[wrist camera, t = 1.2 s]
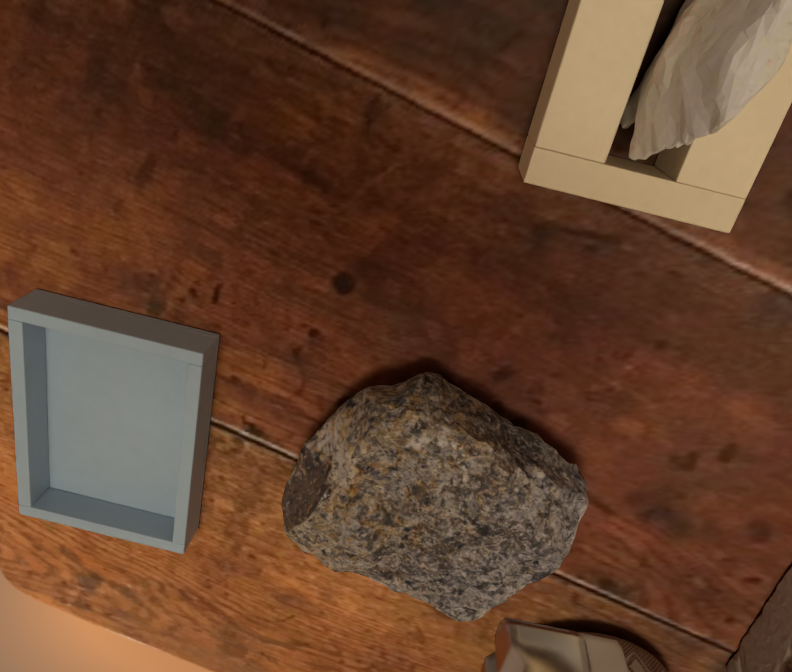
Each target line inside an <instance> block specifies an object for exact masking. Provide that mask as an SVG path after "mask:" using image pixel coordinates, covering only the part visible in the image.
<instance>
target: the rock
mask: <svg viewBox="0 0 792 672" xmlns="http://www.w3.org/2000/svg"><path fill="white" fill-rule="evenodd" d="M586 493H587V485H586V482H585V480H584V478H583V476H582V475H581V473H580V471H579V469H578V466H577V465H576V464H570V463H568V462H566V461H565V460H564V459H563V458H562V457H561V456H560V455H559V454H558V452H557V450H555V449H554V448H553V447H551V446H550V445H548V444H546V443H545V442H544V441H543V439H542V438H541V437H540V436H539V434H536V433H534V432H531V431H529V430H526V429H523V428H521V427H517V426H514V425H513V424H512V423H511V422H510V421H509V420H508V419H506V418H503V417H501V416H499V415H498V414H497V413H496V412H495V411H494V410H493V409H492V408H490V407H489V406H487V405H486V404H484V403H482V402H481V401H479V400H477V399H475V398H474V397H472V396H470V395H468V394H466V393H465V392H464V391H462V390H461V389H460V388H458V387H456V386H454V385H452V384H450V383H448V382H447V381H446V380H445V379H444V378H443V377H442V376H441V375H439V374H437V373H429V372H426V373H423V374H418V375H416V376H414V377H413V378H411V379H409V380H407V381H405V382H402V383H398V384H396V385H393V386H389V385H378V386H371V387H367V388H365V389H363V390H361V391H360V392H358V393H356V395H355V396H354V397H353V398H350V399H348V400H347V401H346V402H345V403H344V404H343V405H342V406H340V407H339V409H338V410H337V411H336V412H335V413H334V414H333V415H331V416H330V417H329V418H328V419H327V421H326V422H325V423H324V424H323V425H322V427H321V428H320V429H319V430H318V431H317V432H316V434H315V435H314V436H313V437H312V438H311V439H310V440H309V441H308V442H306V443H304V445H303V448H302V450H301V452H300V455H299V459H298V461H297V464H296V466H295V468H294V471H293V473H292V475H291V477H290V479H289V480H288V482H287V483H286V486H285V490H284V494H283V498H282V503H281V505H282V510H283V517H284V530H285V533H286V535H287V536H288V537H289V538H290V539H291V540H292V541H293V542H294V543H296V544H297V545H298V547H299V548H300V549H301V550H302V551H303V552H304V553H307V552H309V553H311V554H313V555H315V556H316V557H317V558H318V559H319V560H320V561H321V563H322V564H323V565H324V566H326V567H328V568H330V569H331V570H333V571H335V572H353V573H357V574H360V575H363V576H367V577H369V578H371V579H373V580H374V581H376V582H378V583H380V584H383V585H385V586H386V587H388V588H389V589H390V590H392V591H395V592H398V593H407V594H408V595H409V596H411V597H414V598H416V599H419V600H422V601H424V602H427V603H429V604H431V605H432V606H433V607H434V608H436V609H437V610H439V611H441V612H442V613H444V614H446V615H447V616H449V617H451V618H452V619H455V620H458V621H474V620H477V619H479V618H482V617H483V616H484V614H485V613H486V612H487V611H489V610H490V609H491V608H492V607H495V606H497V605H499V604H502V603H504V602H506V600H507V599H508V598H509V597H510V596H513V595H514V594H515V593H517V592H518V591H519V590H521V589H522V588H523V587H524V586H526V585H527V584H528V583H533V582H537V581H539V580H541V579H543V578H545V577H546V576H548V575H550V574H551V573H553V572H554V571H555V570H557V569H558V568H559V567H560V565H561V564H562V562H563V559H564V558H565V557H566V556H567V555H568V553H569V551H570V548H571V545H572V543H573V541H574V538H575V534H576V530H577V527H578V524H579V521H580V520H581V518H582V516H583V514H584V513H585V511H586V509H587V506H588V503H589V501H588V499H587V496H586Z"/></svg>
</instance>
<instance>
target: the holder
mask: <svg viewBox="0 0 792 672" xmlns="http://www.w3.org/2000/svg"><path fill="white" fill-rule="evenodd" d="M664 1H665V0H569V2H568V5H567V8H566V11H565V15H564V18H563V21H562V25H561V28H560V31H559V34H558V38H557V41H556V44H555V47H554V51H553V54H552V57H551V60H550V64H549V67H548V70H547V74H546V77H545V80H544V83H543V87H542V90H541V93H540V96H539V100H538V103H537V106H536V109H535V113H534V116H533V119H532V123H531V126H530V129H529V132H528V136H527V138H526V142H525V145H524V148H523V152H522V155H521V158H520V161H519V165H518V168H519V170H520V173H521V176H522V178H523V181H524V182H525V183H529V184H533V185H537V186H541V187H545V188H549V189H553V190H557V191H561V192H565V193H569V194H573V195H577V196H581V197H585V198H589V199H593V200H597V201H601V202H605V203H609V204H613V205H617V206H621V207H625V208H629V209H633V210H637V211H641V212H645V213H649V214H653V215H657V216H661V217H665V218H669V219H673V220H677V221H681V222H685V223H689V224H693V225H697V226H701V227H705V228H709V229H713V230H717V231H721V232H725V233H730V231H731V229H732V227H733V225H734V223H735V221H736V218H737V216H738V214H739V212H740V210H741V208H742V206H743V204H744V202H745V199H746V197H747V195H748V193H749V191H750V189H751V187H752V184H753V182H754V180H755V178H756V176H757V174H758V172H759V170H760V168H761V166H762V163H763V161H764V159H765V157H766V155H767V153H768V151H769V149H770V147H771V145H772V142H773V140H774V138H775V136H776V134H777V132H778V130H779V128H780V126H781V124H782V121H783V119H784V117H785V115H786V113H787V111H788V109H789V107H790V105H791V103H792V43H791V45H790V48H789V51H788V53H787V56H786V59H785V61H784V63H783V64H782V66H781V68H780V69H779V71H778V72H777V73H776V75H775V76H774V77H773V78H772V79H771V80H770V81H769V82H768V84H767V85H766V86H765V87H764V88H763V89H762V90H761V91H760V92H758V93H757V94H756V95H755V96H754V97H753V98H752V99H751V100H750V101H749V102H748V103H747V104H746V106H745V107H744V108H743V109H742V110H741V111H740V112H739V114H738V115H737V116H736V117H734V118H733V119H732V120H731V121H730V122H729V123H727V124H726V125H725V126H724V127H722V128H721V129H720V130H719V131H717V132H716V133H714V134H709V135H707V136H704V137H700V138H696V139H695V140H694V141H693V142H692V143H691V144H689V145H688V146H687V145H685V144H683V145H682V146H680V147H679V148H677V147H674V148H671V149H664V150H662V151H660V152H659V155H658V157H657V160H656V162H655V165H654V166H655V167H654V166H650V165H646V164H642V163H638V162H634V161H630V160H626V159H622V158H618V157H614V156H610V155H608V154H609V151H610V148H611V145H612V143H613V140H614V137H615V134H616V132H617V129H618V126H619V124H620V121H621V118H622V115H623V113H624V110H625V107H626V104H627V102H628V99H629V96H630V94H631V91H632V88H633V85H634V83H635V80H636V77H637V74H638V72H639V69H640V66H641V63H642V61H643V58H644V55H645V53H646V50H647V47H648V44H649V42H650V39H651V36H652V33H653V31H654V28H655V25H656V22H657V20H658V17H659V14H660V12H661V9H662V6H663V3H664Z"/></svg>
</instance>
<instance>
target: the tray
mask: <svg viewBox="0 0 792 672" xmlns="http://www.w3.org/2000/svg"><path fill="white" fill-rule="evenodd" d="M8 318H9V319H8V329H9V346H10V363H11V381H12V398H13V416H14V433H15V451H16V468H17V486H18V503H19V513H20V514H23V515H27V516H31V517H35V518H39V519H43V520H47V521H51V522H55V523H59V524H63V525H67V526H71V527H75V528H79V529H83V530H88V531H92V532H96V533H100V534H104V535H108V536H112V537H116V538H120V539H124V540H128V541H132V542H136V543H140V544H144V545H148V546H152V547H156V548H160V549H164V550H169V551H173V552H177V553H181V554H184V552H185V551H186V549H187V547H188V545H189V543H190V541H191V540H192V538H193V536H194V534H195V532H196V531H197V529H198V527H199V519H200V510H201V501H202V491H203V482H204V473H205V464H206V455H207V446H208V437H209V428H210V419H211V410H212V401H213V392H214V383H215V373H216V364H217V355H218V346H219V337H220V335H219V334H216V333H212V332H208V331H204V330H200V329H196V328H192V327H188V326H184V325H180V324H176V323H172V322H168V321H164V320H160V319H156V318H152V317H148V316H144V315H140V314H135V313H131V312H127V311H123V310H119V309H115V308H111V307H107V306H103V305H99V304H95V303H91V302H87V301H83V300H79V299H75V298H71V297H67V296H63V295H59V294H55V293H51V292H47V291H43V290H39V289H35V290H33V291H31V293H28V294H27V295H25V296H23V297H22V298H20V299H18V300H17V301H15V302H13V303H11V304H10V305H8Z"/></svg>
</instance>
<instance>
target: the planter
mask: <svg viewBox="0 0 792 672" xmlns="http://www.w3.org/2000/svg"><path fill="white" fill-rule="evenodd" d="M577 633H583V634H588V635H593V636H598V637H602V638H607V639H612V640H617V642H618V643H619V645H620V646H621V647H622V649H623V653H624V656H625V660H626V664H627V667H628V671H629V672H668V671H667V670H666V669H665V667H664V666H663V665H662V664H661V663H660V662H659V661H658V660H657V659H656V658H655V657H654V656H653V655H651V654H650V653H649V652H647V651H646V650H644V649H643V648H641V647H639V646H637V645H636V644H633V643H631V642H629V641H626V640H624V639H621V638H618V637H614V636H610V635H606V634H600V633H593V632H577Z"/></svg>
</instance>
